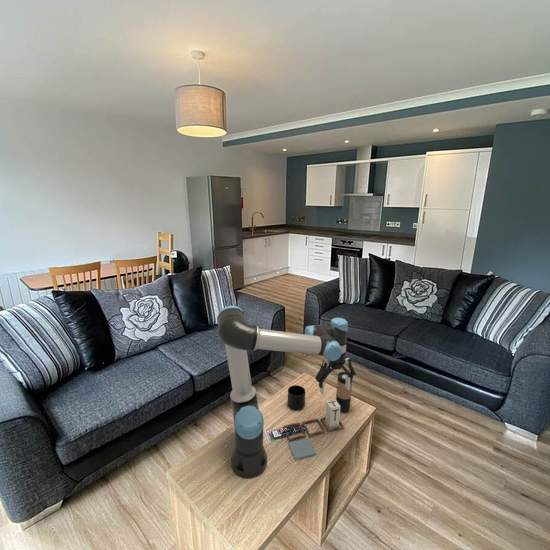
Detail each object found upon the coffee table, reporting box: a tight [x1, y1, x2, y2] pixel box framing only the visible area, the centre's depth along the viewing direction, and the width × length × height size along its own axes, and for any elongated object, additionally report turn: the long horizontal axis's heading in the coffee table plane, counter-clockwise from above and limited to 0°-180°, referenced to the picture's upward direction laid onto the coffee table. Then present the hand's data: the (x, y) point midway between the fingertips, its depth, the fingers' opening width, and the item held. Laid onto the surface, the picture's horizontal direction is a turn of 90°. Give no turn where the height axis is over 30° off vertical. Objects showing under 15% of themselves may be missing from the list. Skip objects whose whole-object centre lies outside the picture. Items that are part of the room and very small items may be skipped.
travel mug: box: [335, 371, 354, 414], centre depth 154 cm, size 8×8×20 cm
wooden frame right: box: [319, 416, 345, 434], centre depth 145 cm, size 8×8×2 cm
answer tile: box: [287, 437, 317, 461], centre depth 130 cm, size 10×9×1 cm
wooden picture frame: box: [282, 422, 307, 442], centre depth 139 cm, size 8×8×2 cm
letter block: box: [324, 399, 341, 429], centre depth 143 cm, size 5×5×12 cm
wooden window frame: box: [301, 418, 326, 438], centre depth 142 cm, size 8×8×2 cm
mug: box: [287, 384, 306, 412], centre depth 158 cm, size 9×12×9 cm
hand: (334, 390), depth 140 cm, fingers open, 13 cm apart
